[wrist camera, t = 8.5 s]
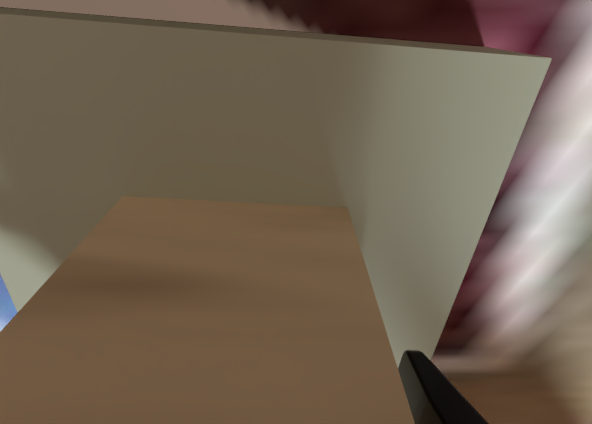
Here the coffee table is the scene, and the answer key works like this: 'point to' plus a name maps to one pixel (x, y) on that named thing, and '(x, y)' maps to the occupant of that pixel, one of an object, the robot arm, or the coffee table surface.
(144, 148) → the sage base block
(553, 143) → the coffee table surface
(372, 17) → the coffee table surface
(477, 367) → the coffee table surface
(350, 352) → the birch cube
